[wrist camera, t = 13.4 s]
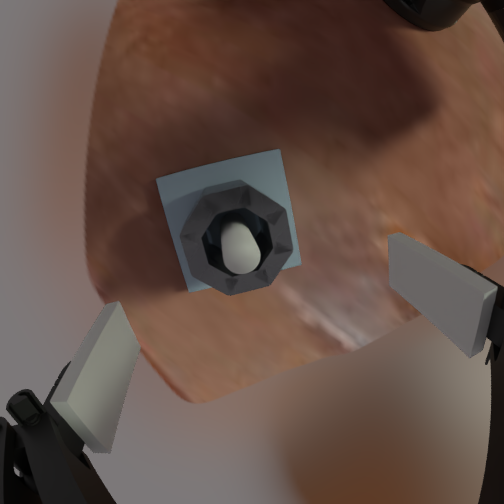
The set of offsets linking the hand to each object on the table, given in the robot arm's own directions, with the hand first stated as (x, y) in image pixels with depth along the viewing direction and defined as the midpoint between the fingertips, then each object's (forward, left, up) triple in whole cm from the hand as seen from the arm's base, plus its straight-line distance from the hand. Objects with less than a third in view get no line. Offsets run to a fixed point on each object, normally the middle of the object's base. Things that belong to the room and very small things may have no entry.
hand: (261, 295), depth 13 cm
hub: (0, 0, -15) cm, 15 cm away
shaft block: (0, 0, -18) cm, 18 cm away
